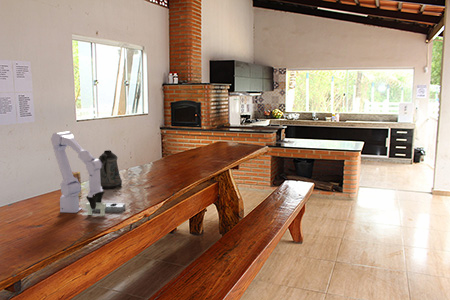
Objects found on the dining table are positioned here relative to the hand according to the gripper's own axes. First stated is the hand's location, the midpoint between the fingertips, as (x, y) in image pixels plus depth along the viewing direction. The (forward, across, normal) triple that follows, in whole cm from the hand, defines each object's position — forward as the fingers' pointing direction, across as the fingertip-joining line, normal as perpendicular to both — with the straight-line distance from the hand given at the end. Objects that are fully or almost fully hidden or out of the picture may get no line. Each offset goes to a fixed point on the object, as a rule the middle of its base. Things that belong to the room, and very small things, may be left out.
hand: (96, 206), depth 216 cm
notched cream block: (+5, 0, 0) cm, 5 cm away
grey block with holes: (+5, +9, -3) cm, 11 cm away
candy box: (+5, +34, +28) cm, 44 cm away
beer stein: (+5, +57, +13) cm, 59 cm away
